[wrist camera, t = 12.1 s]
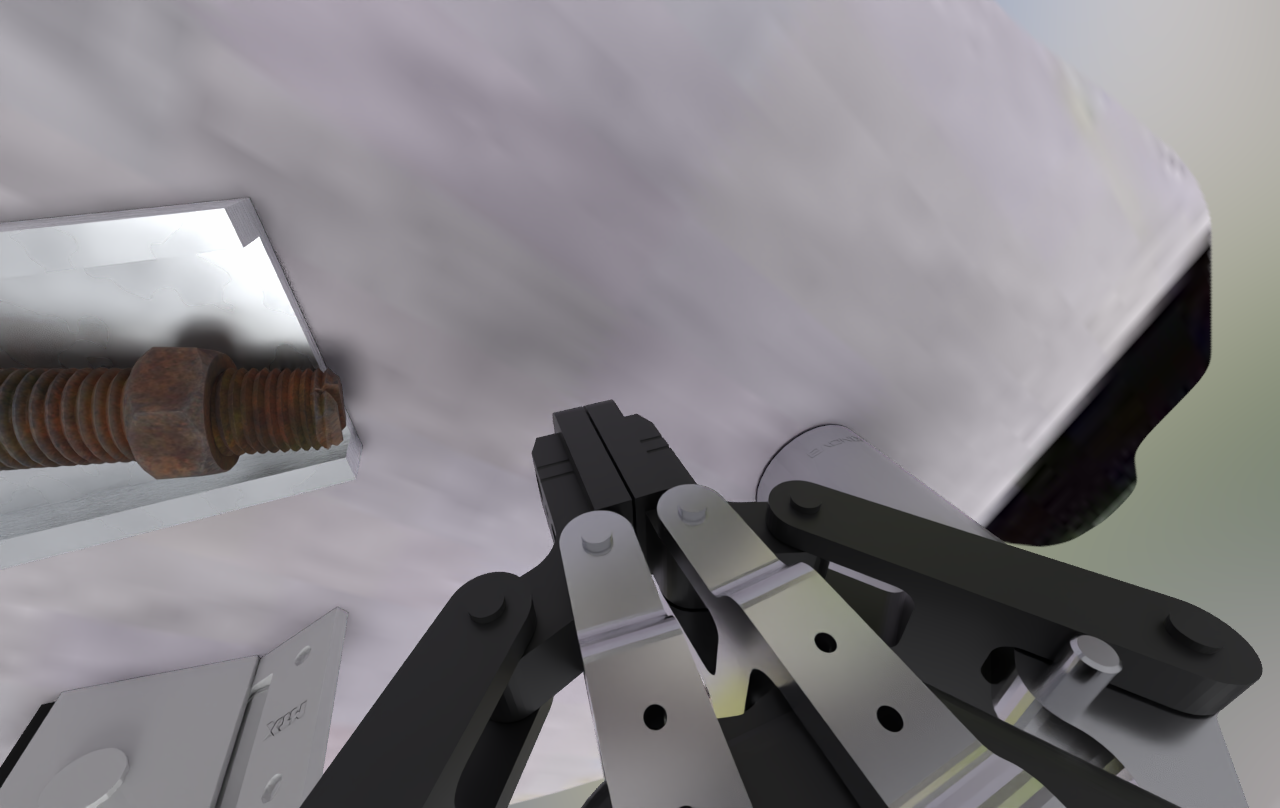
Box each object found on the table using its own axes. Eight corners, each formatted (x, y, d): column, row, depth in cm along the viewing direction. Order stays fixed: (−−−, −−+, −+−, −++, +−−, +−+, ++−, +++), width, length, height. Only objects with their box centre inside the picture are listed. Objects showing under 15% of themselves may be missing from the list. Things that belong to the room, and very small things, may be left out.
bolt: (352, 382, 22) (-178, 389, 16) (335, 308, 18) (-379, 277, 12) (347, 501, 19) (-294, 568, 13) (327, 444, 15) (-605, 499, 9)
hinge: (343, 602, 27) (309, 812, 19) (375, 657, 30) (357, 859, 22) (21, 701, 23) (-198, 1021, 15) (93, 754, 26) (-57, 1044, 18)
